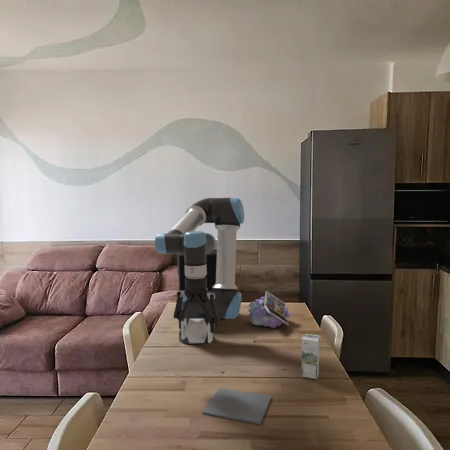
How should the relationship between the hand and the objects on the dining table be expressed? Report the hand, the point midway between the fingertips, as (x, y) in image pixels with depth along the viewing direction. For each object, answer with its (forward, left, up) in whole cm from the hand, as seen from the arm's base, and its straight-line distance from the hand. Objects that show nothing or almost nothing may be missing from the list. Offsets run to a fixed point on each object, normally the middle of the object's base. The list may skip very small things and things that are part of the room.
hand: (197, 339), depth 136 cm
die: (0, 0, -1) cm, 1 cm away
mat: (+18, -10, -15) cm, 26 cm away
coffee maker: (-25, +69, -16) cm, 75 cm away
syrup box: (+37, +17, -16) cm, 44 cm away
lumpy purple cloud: (+11, +66, -16) cm, 69 cm away
